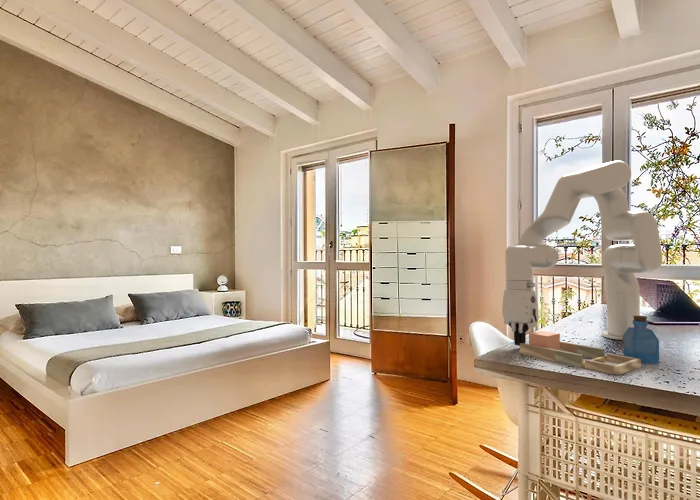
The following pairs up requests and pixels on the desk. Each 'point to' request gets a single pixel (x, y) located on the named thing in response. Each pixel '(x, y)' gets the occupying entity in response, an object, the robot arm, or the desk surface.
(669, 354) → the desk surface
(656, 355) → the perfume bottle
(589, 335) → the desk surface
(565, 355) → the corridor
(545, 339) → the block
